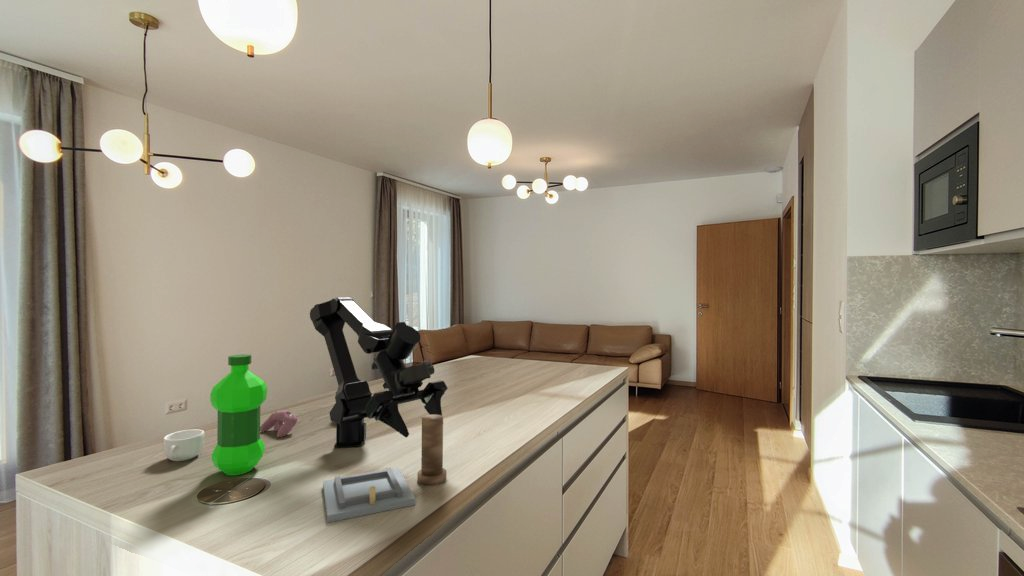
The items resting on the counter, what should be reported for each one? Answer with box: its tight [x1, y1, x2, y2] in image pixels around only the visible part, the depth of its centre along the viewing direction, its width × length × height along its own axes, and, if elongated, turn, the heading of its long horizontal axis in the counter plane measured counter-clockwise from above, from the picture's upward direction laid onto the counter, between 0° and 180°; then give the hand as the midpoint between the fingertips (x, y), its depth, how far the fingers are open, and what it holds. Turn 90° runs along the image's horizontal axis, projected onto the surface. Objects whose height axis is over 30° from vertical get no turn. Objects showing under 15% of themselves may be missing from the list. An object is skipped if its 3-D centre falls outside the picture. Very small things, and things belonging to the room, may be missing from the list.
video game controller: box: [260, 409, 298, 438], centre depth 122 cm, size 10×5×7 cm, turn 58°
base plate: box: [322, 467, 416, 523], centre depth 86 cm, size 15×15×4 cm
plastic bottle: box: [209, 353, 268, 476], centre depth 97 cm, size 10×10×25 cm
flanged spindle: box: [416, 414, 447, 487], centre depth 93 cm, size 6×6×13 cm
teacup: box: [162, 428, 205, 462], centre depth 103 cm, size 10×8×5 cm
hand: (425, 430), depth 94 cm, fingers open, 9 cm apart
